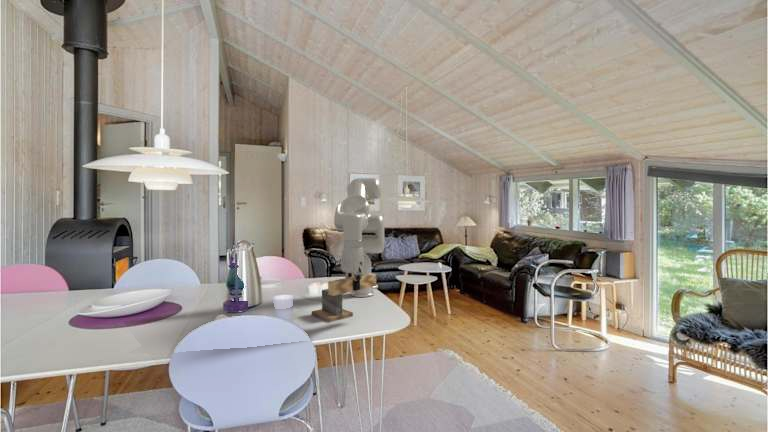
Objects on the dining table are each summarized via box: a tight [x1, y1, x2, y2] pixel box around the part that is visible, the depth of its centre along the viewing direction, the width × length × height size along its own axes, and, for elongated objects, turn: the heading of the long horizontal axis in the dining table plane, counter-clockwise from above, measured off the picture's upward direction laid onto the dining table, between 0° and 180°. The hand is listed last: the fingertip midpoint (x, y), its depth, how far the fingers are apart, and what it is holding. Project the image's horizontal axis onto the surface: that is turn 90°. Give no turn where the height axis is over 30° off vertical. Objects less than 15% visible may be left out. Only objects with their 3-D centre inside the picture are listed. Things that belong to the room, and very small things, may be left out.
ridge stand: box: [311, 288, 354, 323], centre depth 166 cm, size 12×14×10 cm
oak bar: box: [327, 272, 377, 296], centre depth 155 cm, size 22×4×5 cm, turn 133°
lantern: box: [222, 244, 249, 313], centre depth 174 cm, size 13×12×30 cm
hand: (353, 288), depth 155 cm, fingers closed on oak bar, 3 cm apart
